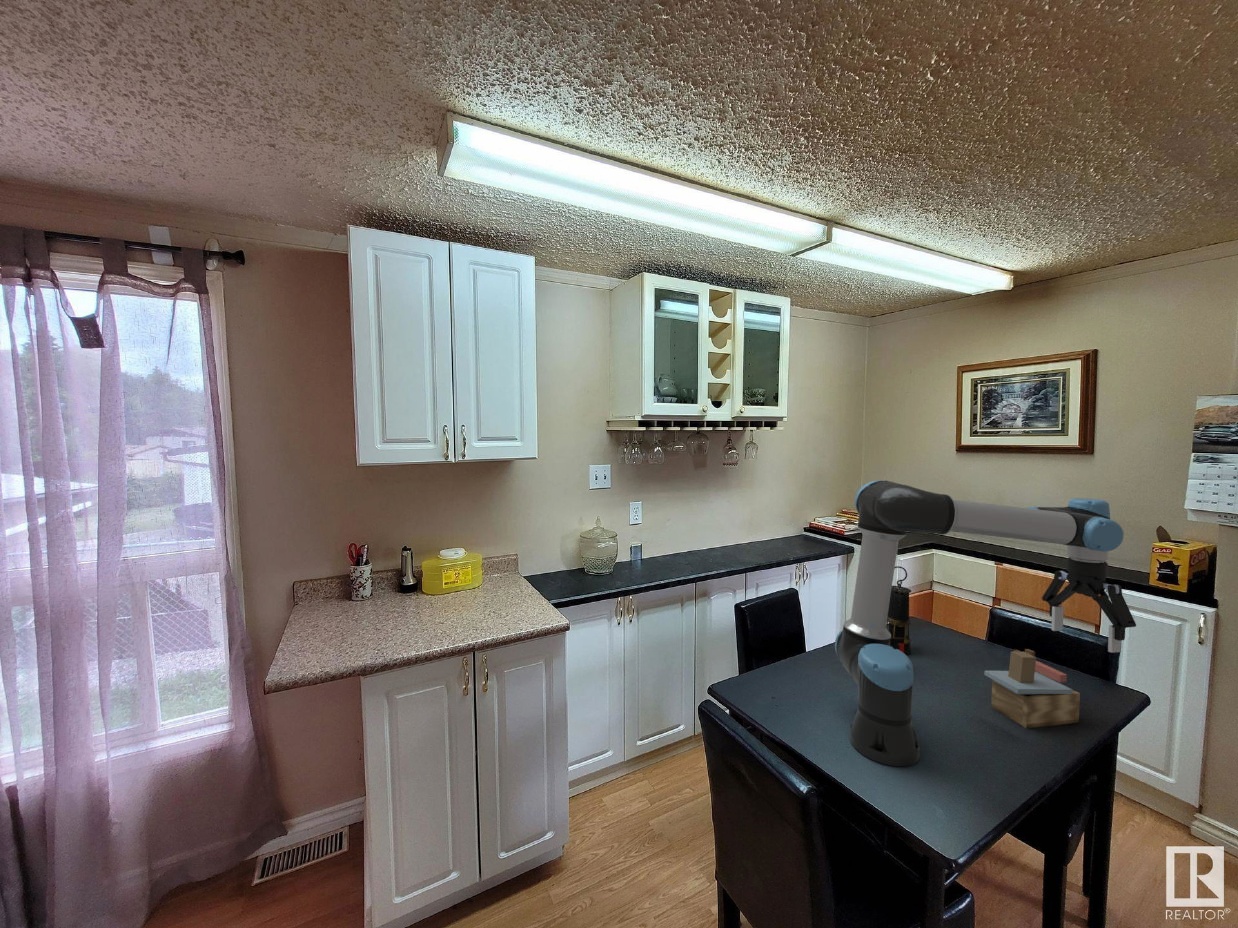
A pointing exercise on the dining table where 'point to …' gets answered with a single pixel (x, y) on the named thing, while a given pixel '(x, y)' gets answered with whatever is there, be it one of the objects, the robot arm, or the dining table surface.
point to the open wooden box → (1036, 707)
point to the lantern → (899, 615)
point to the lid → (1026, 677)
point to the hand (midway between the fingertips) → (1084, 640)
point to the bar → (1050, 672)
